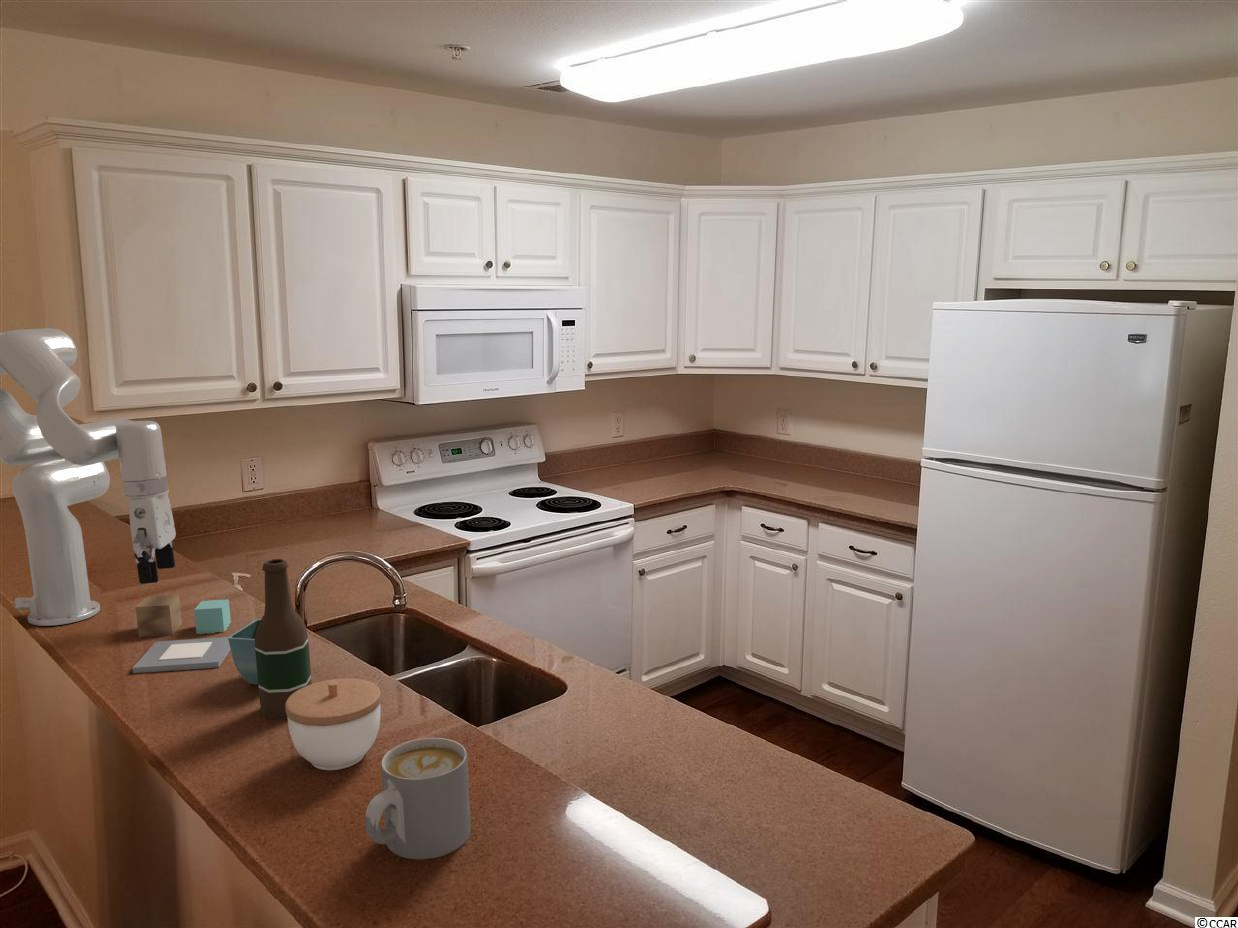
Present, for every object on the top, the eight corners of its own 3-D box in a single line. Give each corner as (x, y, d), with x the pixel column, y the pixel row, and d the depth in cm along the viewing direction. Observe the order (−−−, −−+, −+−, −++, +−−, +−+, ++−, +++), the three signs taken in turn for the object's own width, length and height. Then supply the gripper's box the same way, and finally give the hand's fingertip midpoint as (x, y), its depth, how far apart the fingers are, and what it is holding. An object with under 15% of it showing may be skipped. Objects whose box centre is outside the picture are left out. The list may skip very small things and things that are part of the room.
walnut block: (139, 637, 176) (135, 607, 175) (149, 625, 182) (146, 596, 181) (172, 635, 177) (169, 605, 176) (182, 623, 183) (179, 594, 181)
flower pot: (279, 693, 151) (275, 640, 149) (231, 688, 152) (226, 637, 151) (308, 671, 159) (304, 621, 157) (261, 667, 161) (257, 618, 159)
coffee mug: (443, 802, 118) (439, 729, 116) (486, 835, 111) (483, 758, 109) (344, 844, 110) (338, 766, 108) (384, 883, 102) (379, 800, 100)
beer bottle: (264, 724, 140) (250, 571, 135) (257, 704, 147) (244, 558, 142) (317, 713, 143) (305, 564, 139) (309, 694, 150) (297, 551, 146)
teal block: (196, 634, 177) (194, 609, 176) (204, 625, 182) (201, 600, 181) (224, 632, 178) (221, 607, 177) (230, 623, 183) (228, 599, 182)
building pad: (133, 673, 159) (132, 666, 159) (156, 646, 171) (155, 640, 171) (219, 667, 161) (218, 660, 161) (236, 641, 173) (235, 635, 173)
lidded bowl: (333, 790, 121) (327, 711, 119) (270, 765, 128) (264, 690, 126) (403, 749, 132) (399, 676, 130) (342, 728, 138) (336, 658, 136)
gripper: (151, 495, 166) (164, 587, 169) (181, 477, 183) (192, 561, 186) (106, 498, 165) (120, 590, 168) (141, 480, 182) (152, 564, 185)
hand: (158, 575), depth 177 cm, fingers open, 9 cm apart
